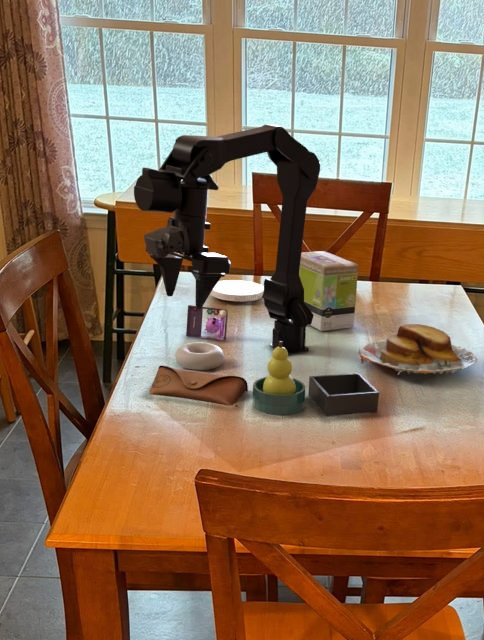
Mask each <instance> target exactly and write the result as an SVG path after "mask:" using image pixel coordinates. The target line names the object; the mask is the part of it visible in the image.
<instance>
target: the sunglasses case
mask: <svg viewBox="0 0 484 640" xmlns="http://www.w3.org/2000/svg"><path fill="white" fill-rule="evenodd" d="M248 389H249V385H248V381H247V380H246V379H245V378H244V377H241V376H239V375H223V374H219V373H212V372H205V371H200V370H192V369H182V368H174V367H171V366H168V365H159V366H158V369H157V372H156V374H155V376H154V379H153V382H152V384H151V387H150V389H149V392H148V393H149V395H151V396H152V395H153V396H161V397H162V396H163V397H171V398H179V399H185V400H191V401H199V402H205V403H213V404H219V405H224V406H228V407H229V406H230V407H233V406H234V405H235V404H236V403H237V402H238V401H239V400H240V399H241V398H242V397H243V396H244V395H245V393H246V392H248V391H249V390H248Z"/></svg>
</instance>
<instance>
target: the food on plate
mask: <svg viewBox="0 0 484 640" xmlns="http://www.w3.org/2000/svg"><path fill="white" fill-rule="evenodd" d="M375 344H377V346H376V345H375ZM358 356H359V357H360V364H361V365H363V364H364V360H365V361H368V362H370V363H374V364H379V365H380V366H383V367H387V368H388V369H390V368H391V369H393V370H395V371H396V372H397V375H398V376H399V375H400V374H401V373H402V372H407V374H411V373H414V374H419V373H420V374H424V375H426V374H433V375H435V374H438V373H439V375H443V373H444V372H446V373H450V374H452V373H453V374H454V373H456V372H457V370H464V369H466V368H468V367H471V366H472V365H473V364H475V363H477V361H478V358H477V356H476V355H475V354H474V353H473V352H472V351H470V350H468V349H467V348H464V347H461V346H458V345H455V344H452V341H451V337H450V335H449V334H448V333H446V332H445V331H443V330H441V329H439V328H436V327H433V326H430V325H427V324H426V325H425V324H420V323H419V324H418V323H417V324H416V323H405V324H400V325H399V326H398V329H397V332H394V333H391V334H390V335H388V336H387V337H386V339H383V340H376V341H373V342H370V343H367V344H366V345H365V346H363V347H361V348H359V350H358Z"/></svg>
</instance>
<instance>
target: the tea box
mask: <svg viewBox="0 0 484 640" xmlns="http://www.w3.org/2000/svg"><path fill="white" fill-rule="evenodd" d="M299 276H300V279H301V282H302V285H303V288H304V304H305V305H306V306H307V307H308V308H309V310H310V311H311V312H312V313H313V315H314V316H313V320H312V323H311V324H310V325H309V326H311V327H312V328H315V329H317V330H318V331H319V332H326V331H334V330H342V329H350V328H354V324H355V317H356V316H355V315H356V313H355V312H356V302H357V289H358V276H359V264H357V263H355V262H353V261H350V260H348V259H345V258H343V257H340V256H338V255H335V254H332V253H330V252H327V251H325V250H320V251H306V252H305V251H304V252H301V261H300V270H299Z"/></svg>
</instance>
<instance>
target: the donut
mask: <svg viewBox="0 0 484 640" xmlns="http://www.w3.org/2000/svg"><path fill="white" fill-rule="evenodd" d="M174 358H175V361H176V363H177V364H178V365H179V366H181V368H182V367H183V368H185V369H186V370H192V371H209V370H212V369H216V368H218V367H219V366H221V365H222V364H223V361H224V360H225V354H224V352H223V349H221V348H220V346H218V345H215V344H212V343H209V342H203V341H202V342H201V341H199V342H198V341H197V342H188V343H185V344H182V345H180V346H179V347H178V348H177V349H176V350H175V352H174Z"/></svg>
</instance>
